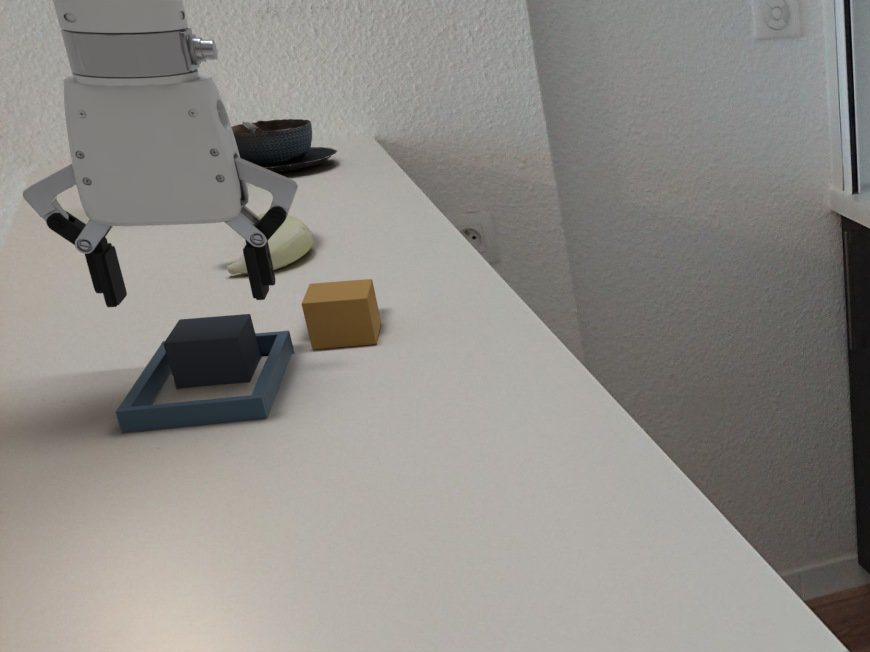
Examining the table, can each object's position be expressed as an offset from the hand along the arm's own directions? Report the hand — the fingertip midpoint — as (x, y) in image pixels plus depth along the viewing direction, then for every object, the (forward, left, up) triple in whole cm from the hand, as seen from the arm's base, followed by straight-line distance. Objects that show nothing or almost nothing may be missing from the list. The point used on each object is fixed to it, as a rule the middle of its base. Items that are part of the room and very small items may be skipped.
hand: (190, 298), depth 96 cm
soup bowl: (-6, +86, -7) cm, 87 cm away
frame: (+1, -4, -7) cm, 8 cm away
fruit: (-1, +39, -7) cm, 40 cm away
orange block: (+9, +9, -7) cm, 15 cm away
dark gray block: (+1, 0, -6) cm, 6 cm away
